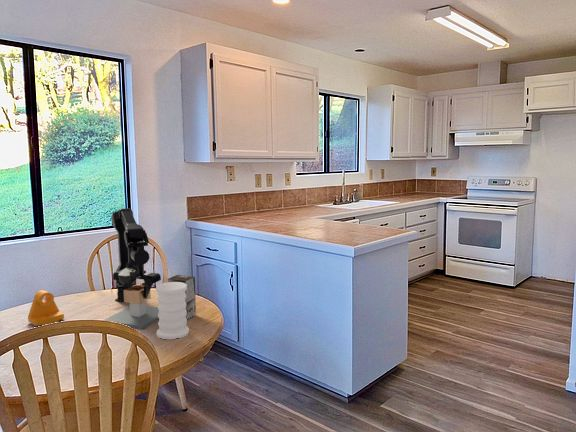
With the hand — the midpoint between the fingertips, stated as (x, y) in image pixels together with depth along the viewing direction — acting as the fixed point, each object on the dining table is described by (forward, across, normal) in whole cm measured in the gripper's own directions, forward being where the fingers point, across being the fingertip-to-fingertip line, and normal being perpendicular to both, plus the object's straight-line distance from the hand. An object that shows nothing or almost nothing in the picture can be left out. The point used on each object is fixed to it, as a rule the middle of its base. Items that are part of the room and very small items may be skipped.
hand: (137, 297), depth 178 cm
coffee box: (+8, +16, +7) cm, 20 cm away
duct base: (+8, 0, 0) cm, 8 cm away
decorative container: (+8, +22, -10) cm, 26 cm away
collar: (+1, 0, 0) cm, 1 cm away
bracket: (+9, -31, -15) cm, 35 cm away
